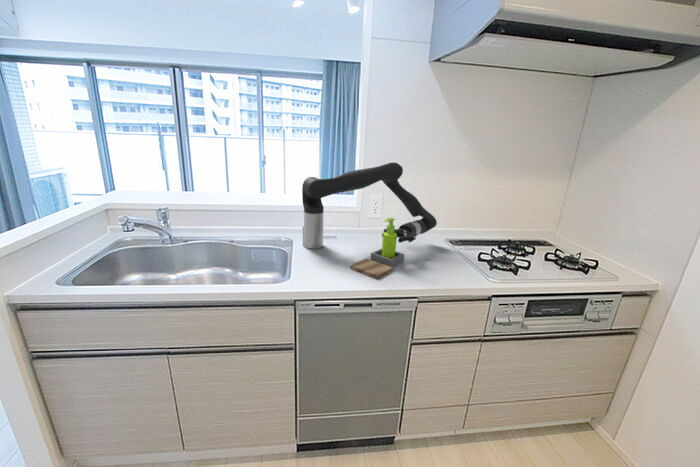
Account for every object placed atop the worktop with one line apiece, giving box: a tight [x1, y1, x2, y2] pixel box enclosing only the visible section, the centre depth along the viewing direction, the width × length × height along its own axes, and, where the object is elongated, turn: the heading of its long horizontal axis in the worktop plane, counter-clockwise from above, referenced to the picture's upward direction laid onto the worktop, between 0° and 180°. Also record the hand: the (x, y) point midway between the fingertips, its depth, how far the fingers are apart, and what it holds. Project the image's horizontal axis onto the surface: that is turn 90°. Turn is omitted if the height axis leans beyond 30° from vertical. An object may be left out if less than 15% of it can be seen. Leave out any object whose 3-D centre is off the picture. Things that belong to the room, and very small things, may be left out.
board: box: [349, 257, 394, 280], centre depth 132 cm, size 14×11×2 cm
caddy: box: [369, 248, 405, 269], centre depth 140 cm, size 11×10×4 cm
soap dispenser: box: [381, 217, 398, 259], centre depth 137 cm, size 6×7×20 cm
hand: (390, 237), depth 138 cm, fingers open, 8 cm apart
